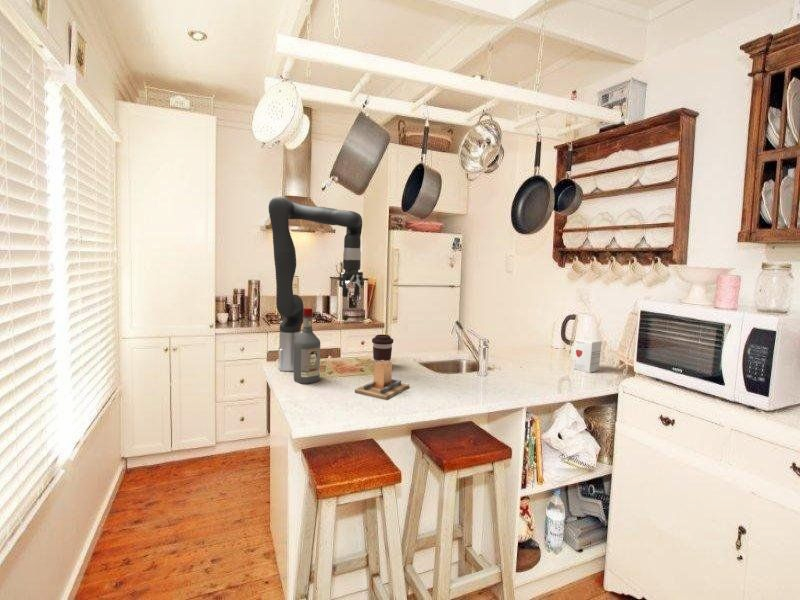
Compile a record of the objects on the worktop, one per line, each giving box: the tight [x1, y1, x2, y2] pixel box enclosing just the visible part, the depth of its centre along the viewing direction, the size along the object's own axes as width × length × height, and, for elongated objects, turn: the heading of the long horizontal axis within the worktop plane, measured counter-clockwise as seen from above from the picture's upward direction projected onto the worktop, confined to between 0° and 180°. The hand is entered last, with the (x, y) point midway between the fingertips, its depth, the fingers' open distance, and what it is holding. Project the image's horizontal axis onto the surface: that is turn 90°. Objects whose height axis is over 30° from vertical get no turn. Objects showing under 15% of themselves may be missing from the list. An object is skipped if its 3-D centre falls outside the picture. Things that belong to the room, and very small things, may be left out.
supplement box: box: [572, 337, 603, 374], centre depth 217 cm, size 9×9×15 cm
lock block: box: [373, 360, 393, 390], centre depth 174 cm, size 6×4×10 cm
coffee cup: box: [371, 333, 394, 364], centre depth 206 cm, size 10×10×15 cm
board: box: [354, 378, 410, 401], centre depth 175 cm, size 18×14×3 cm
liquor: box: [293, 307, 321, 385], centre depth 181 cm, size 9×9×30 cm
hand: (350, 296), depth 193 cm, fingers open, 8 cm apart
